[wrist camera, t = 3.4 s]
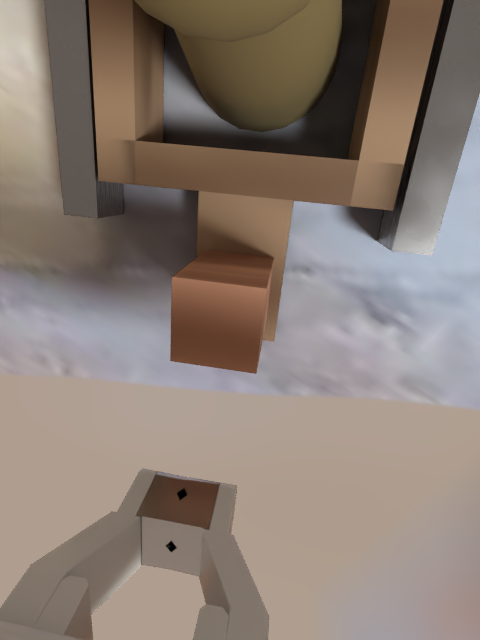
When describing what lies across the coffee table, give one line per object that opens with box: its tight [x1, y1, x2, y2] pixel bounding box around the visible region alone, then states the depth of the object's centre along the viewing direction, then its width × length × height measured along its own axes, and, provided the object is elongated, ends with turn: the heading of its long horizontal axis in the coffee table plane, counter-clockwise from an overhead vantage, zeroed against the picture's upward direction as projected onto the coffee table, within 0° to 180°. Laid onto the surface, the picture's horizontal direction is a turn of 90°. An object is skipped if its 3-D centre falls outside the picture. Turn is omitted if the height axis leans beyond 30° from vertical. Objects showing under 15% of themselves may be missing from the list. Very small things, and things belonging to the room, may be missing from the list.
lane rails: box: [45, 0, 480, 255], centre depth 13 cm, size 14×15×2 cm
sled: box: [89, 0, 444, 374], centre depth 12 cm, size 18×11×6 cm, turn 174°
